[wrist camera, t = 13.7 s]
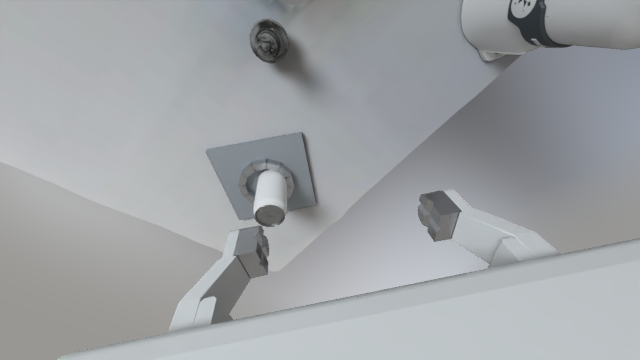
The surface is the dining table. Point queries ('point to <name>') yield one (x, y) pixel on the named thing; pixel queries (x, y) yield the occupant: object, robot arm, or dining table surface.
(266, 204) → the can
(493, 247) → the robot arm
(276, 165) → the collar
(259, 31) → the salt shaker
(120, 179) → the dining table surface
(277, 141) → the board
